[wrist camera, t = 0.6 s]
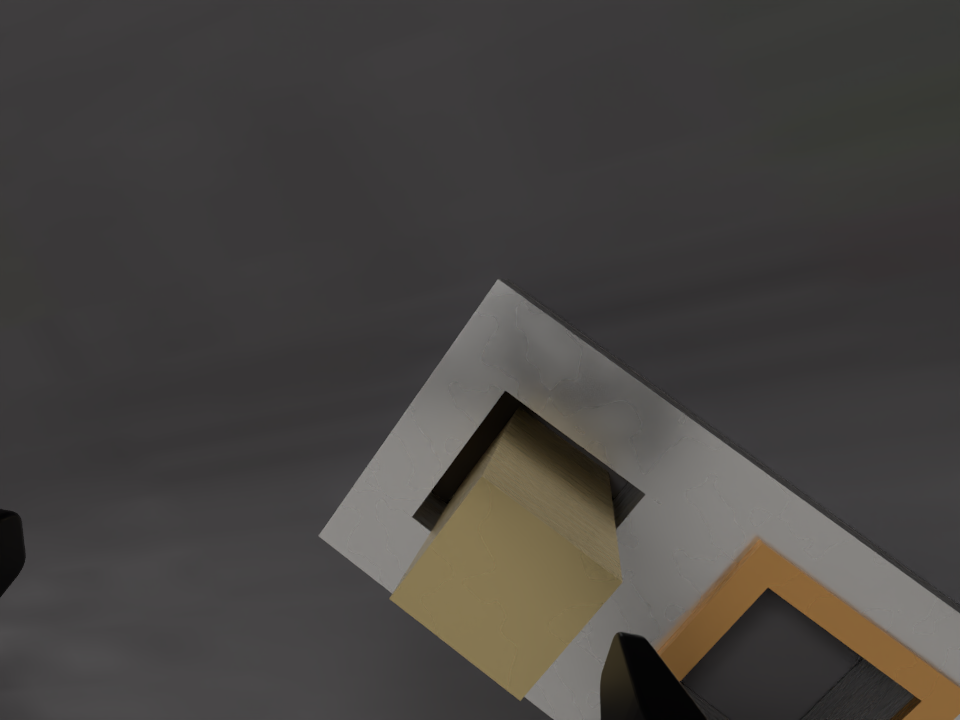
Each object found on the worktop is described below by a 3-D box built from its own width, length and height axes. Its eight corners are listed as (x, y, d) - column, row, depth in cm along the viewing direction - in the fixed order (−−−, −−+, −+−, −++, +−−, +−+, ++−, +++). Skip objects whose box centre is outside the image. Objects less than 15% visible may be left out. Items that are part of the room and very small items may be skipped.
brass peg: (608, 472, 21) (622, 582, 13) (543, 553, 22) (520, 701, 14) (519, 406, 22) (481, 475, 14) (457, 488, 22) (389, 598, 15)
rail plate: (992, 629, 20) (1058, 685, 17) (770, 837, 22) (797, 916, 19) (508, 279, 21) (496, 278, 18) (346, 509, 23) (314, 539, 20)
